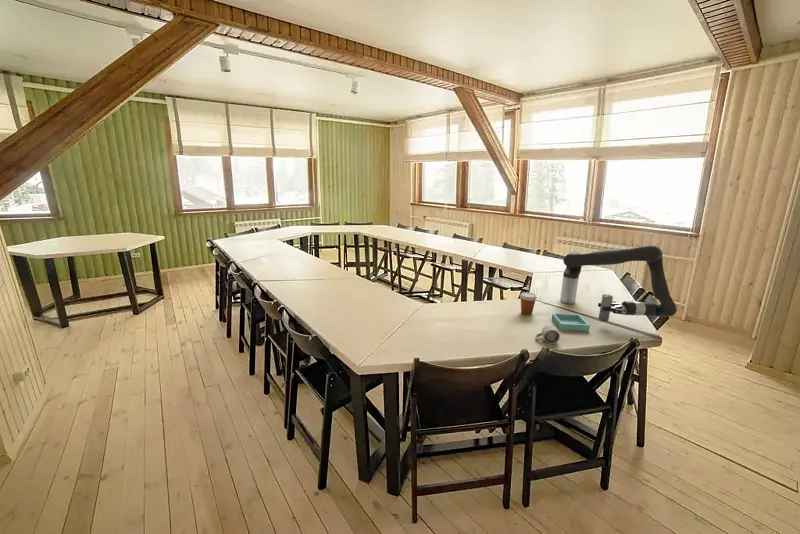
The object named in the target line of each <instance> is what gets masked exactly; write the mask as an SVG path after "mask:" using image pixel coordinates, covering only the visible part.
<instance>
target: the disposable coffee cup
mask: <svg viewBox="0 0 800 534" xmlns="http://www.w3.org/2000/svg"><path fill="white" fill-rule="evenodd" d="M519 297H520V313H521V314H522V315H525V316H531V315H532V314H533V311H534V307H535V305H536V304H535V303H536V300H537V294H535V293H533V292H528V291H527V292H525V291H524V292H521V293H520V295H519Z"/></svg>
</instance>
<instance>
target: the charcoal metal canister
mask: <svg viewBox="0 0 800 534" xmlns="http://www.w3.org/2000/svg"><path fill="white" fill-rule="evenodd" d="M613 299H614V296H613V295H611V294H606V293H605V294H602V297H601V302H600V303H601V306H600V307H599V313H598V320H599V321H601V322H606V323H607V322H609V319H610V315H611V312H610V311H603V310H602V309H603V307H611V305H612V301H614V300H613Z"/></svg>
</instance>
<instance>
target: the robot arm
mask: <svg viewBox="0 0 800 534" xmlns="http://www.w3.org/2000/svg"><path fill="white" fill-rule="evenodd" d="M629 262H646V263H647V266H648V268H649V272H650V285H651V288H652V289H651V291H652V293H653V297H654V299H655V300H658V301H659V303H651V302H641V301H631V300H630V301H629V300H624V301H623V302H622V303H619V302H616V301H615V300H612V305H611V307H603V309H602V310H603V311H610V313H613V314H617V315H622V316H623V315H624V316H635V317H636V316H638V317H639V316H646V317H647V316H650V317H651V316H652V317H656V318H657V317H660V318H663V317H664V318H666V317H667V318H668V317H673V316H675V315H676V313H677V305H676V303H675V302H674V300H673V298H672V296H671V295H670V289H669V286H668V283H667V279H666V275H665V271H664V264H663V263H664V262H663V251H662V249H660V247H658V246H656V245H652V244H649V245H644V246H643V245H642V246H637V247H632V248H609V249H608V248H607V249H602V250H597V251H592V252H588V253H580V252H577V251H573V252H570V253H568V254H566V255H565V256H564V257H563V264H564V265H565V266H566V267H565V270H564V271H563V275H562V276H563V277H562V283H561V291H560V297H559V298H560V299H559V301H560V302H562V303H565V304H571V305H572V304H575V303H576V299H577V291H578V288H579V287H578V286H579V278H580V274H581V272H582V267H584V266H610V265H611V266H612V265H619V264H624V263H629ZM600 306H601V302H598V304H597V307H598V308H600Z"/></svg>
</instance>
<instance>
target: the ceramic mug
mask: <svg viewBox="0 0 800 534" xmlns="http://www.w3.org/2000/svg"><path fill="white" fill-rule="evenodd" d="M541 336H542V337H541ZM560 338H561V335H560V333H559V332H558V329H556V327H554V326H553V325H549V324H547V325H545V326H543V327H542V329H541V332H540V333H537V334H536V335H535V340H536V341H539V342H540V341H541V342H543V341H545V343H546V344H548V345H554V344H557V343H559V341H560Z"/></svg>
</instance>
